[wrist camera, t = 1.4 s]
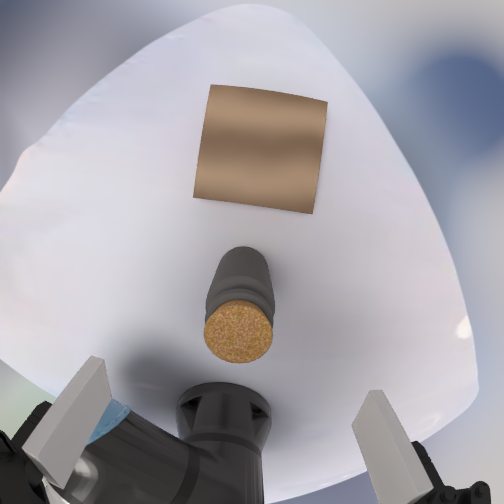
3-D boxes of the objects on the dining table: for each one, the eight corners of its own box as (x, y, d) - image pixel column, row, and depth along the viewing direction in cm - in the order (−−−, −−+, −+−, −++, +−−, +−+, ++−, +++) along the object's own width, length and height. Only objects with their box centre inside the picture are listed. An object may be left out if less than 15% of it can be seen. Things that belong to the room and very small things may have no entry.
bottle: (273, 253, 32) (292, 309, 18) (260, 298, 33) (266, 376, 19) (225, 240, 32) (204, 287, 17) (213, 286, 33) (189, 359, 18)
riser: (304, 210, 31) (312, 214, 27) (200, 195, 30) (193, 197, 27) (318, 111, 28) (327, 101, 24) (215, 96, 28) (210, 84, 24)
